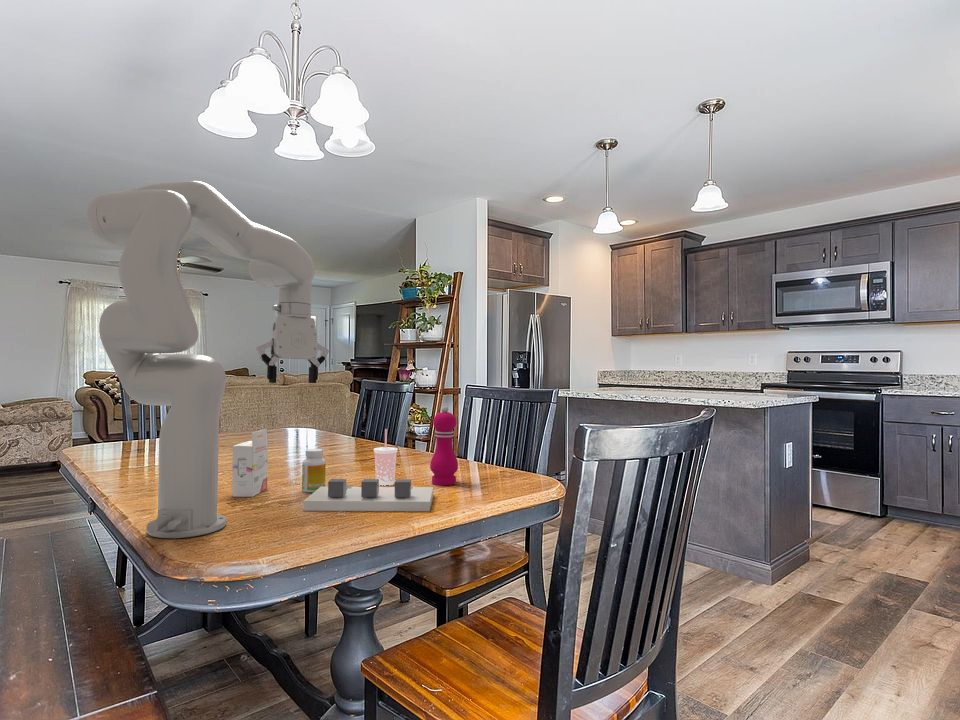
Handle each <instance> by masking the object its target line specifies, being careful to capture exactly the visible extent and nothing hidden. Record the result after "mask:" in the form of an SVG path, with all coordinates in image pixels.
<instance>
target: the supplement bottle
mask: <svg viewBox="0 0 960 720" xmlns="http://www.w3.org/2000/svg"><path fill="white" fill-rule="evenodd" d="M323 451H324V450H323V449H322V448H310V449H306V450H305V457H306V458H304V459H303V460H302V464H301V465H302V466H301V468H302V469H301V491H303V492H304V493H314V492H315V491H316V490H317V489H319V488H320V487H321V486H324V487H326V468H327V467H326V466H327V465H326V460H325V458H323V454H324V452H323ZM303 492H302V493H303Z"/></svg>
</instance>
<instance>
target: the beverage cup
mask: <svg viewBox="0 0 960 720" xmlns="http://www.w3.org/2000/svg"><path fill="white" fill-rule="evenodd" d="M387 432H388V429H387V428H385V429H384V447H383V446H381V447H380V446H379V447H375V448H373V453H374V466H375V467H374V469H375V479H379V486H380V485H382V486H381V487H387V486H386V485H389V486H393V485H395V481H396V477H395V476H396V464H397V453H398V450H399V448H398V447H392V446H387V445H388V444H387V442H388V433H387ZM383 485H384V486H383Z"/></svg>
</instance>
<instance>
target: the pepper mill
mask: <svg viewBox="0 0 960 720" xmlns="http://www.w3.org/2000/svg"><path fill="white" fill-rule="evenodd" d="M432 424H433V427H434V428H435V431H434V437H436V446H435V450H434V453H433V455H432V457H431V461H430V465H429V469H430V471H431V472H432V474H433V475H432V476H431V484H432V485H434V484H435V485H434V486H439V485H449V486H453V485H452V484H454V485H456V484H455V483H457V476H456V475H455V473H456V472H458V469H459V462H458V459H457V457H456V454H455V452H454V446H453V438H454V437H455V431H454V429H455V428H456V426H457V418H456V416H455V414H453V413H451V412H449V407H448V405H447V406H446V405H443V406H442V407H441V412H438V413H437V414H435V415H434V417H433V421H432Z"/></svg>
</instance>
